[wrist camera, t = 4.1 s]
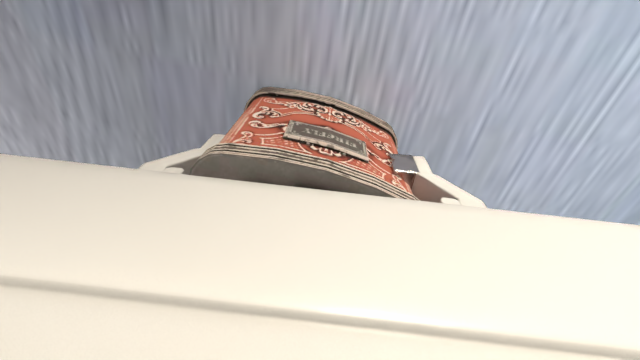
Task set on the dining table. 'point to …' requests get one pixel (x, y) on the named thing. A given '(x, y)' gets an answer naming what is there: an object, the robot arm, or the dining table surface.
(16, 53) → the dining table surface
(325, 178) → the lighter
